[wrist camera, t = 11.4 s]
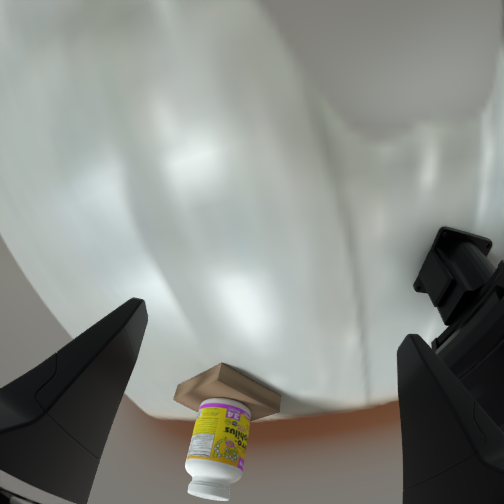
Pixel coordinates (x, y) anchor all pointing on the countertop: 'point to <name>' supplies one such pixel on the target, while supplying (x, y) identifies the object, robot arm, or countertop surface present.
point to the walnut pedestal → (228, 391)
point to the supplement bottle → (217, 448)
